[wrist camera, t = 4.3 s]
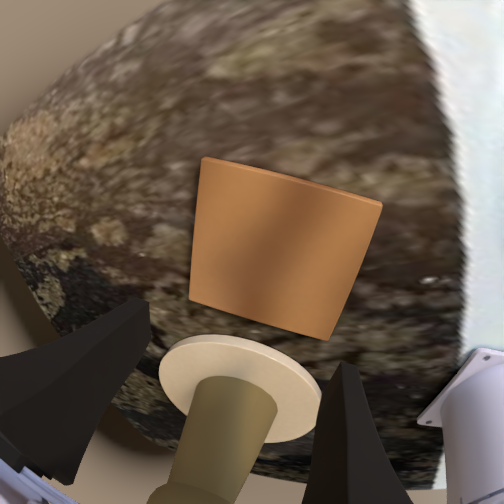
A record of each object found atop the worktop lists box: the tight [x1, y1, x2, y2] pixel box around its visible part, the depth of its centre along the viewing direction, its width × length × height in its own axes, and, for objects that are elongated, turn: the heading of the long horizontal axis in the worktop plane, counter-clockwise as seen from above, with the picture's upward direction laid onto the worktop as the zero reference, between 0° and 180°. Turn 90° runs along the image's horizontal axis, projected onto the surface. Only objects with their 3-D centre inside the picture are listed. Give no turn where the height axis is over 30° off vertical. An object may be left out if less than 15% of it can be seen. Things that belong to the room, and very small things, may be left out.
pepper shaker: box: [147, 376, 278, 504], centre depth 16 cm, size 6×6×11 cm
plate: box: [159, 334, 322, 443], centre depth 21 cm, size 12×12×1 cm
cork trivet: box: [189, 157, 383, 341], centre depth 15 cm, size 8×8×1 cm
